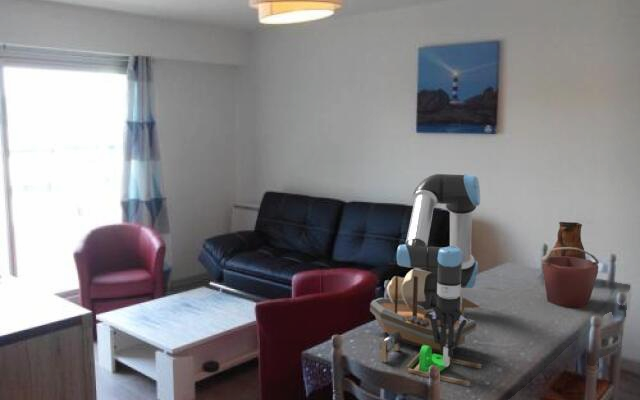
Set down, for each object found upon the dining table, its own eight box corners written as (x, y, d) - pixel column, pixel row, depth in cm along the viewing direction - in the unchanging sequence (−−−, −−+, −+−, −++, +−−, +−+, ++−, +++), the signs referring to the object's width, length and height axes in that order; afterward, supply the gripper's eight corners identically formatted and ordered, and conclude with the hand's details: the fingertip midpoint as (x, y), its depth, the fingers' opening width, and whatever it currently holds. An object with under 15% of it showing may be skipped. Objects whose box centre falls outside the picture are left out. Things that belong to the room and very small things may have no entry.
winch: (378, 361, 196) (378, 341, 195) (392, 348, 207) (392, 329, 206) (388, 363, 194) (389, 343, 193) (402, 350, 205) (402, 331, 204)
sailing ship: (386, 322, 233) (388, 257, 229) (489, 354, 202) (493, 279, 199) (361, 333, 221) (362, 265, 218) (466, 368, 191) (469, 289, 187)
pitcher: (589, 280, 295) (593, 223, 291) (573, 288, 280) (577, 228, 276) (557, 274, 307) (561, 218, 303) (539, 282, 292) (543, 224, 288)
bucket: (538, 306, 255) (541, 250, 251) (536, 292, 275) (539, 240, 272) (599, 312, 247) (603, 255, 243) (593, 297, 267) (596, 244, 264)
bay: (404, 371, 188) (404, 367, 188) (420, 355, 201) (420, 351, 201) (468, 386, 178) (469, 381, 178) (481, 367, 191) (481, 363, 191)
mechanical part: (436, 376, 184) (437, 352, 183) (418, 371, 188) (419, 348, 187) (450, 363, 194) (450, 340, 193) (433, 358, 198) (434, 336, 196)
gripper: (425, 295, 185) (423, 365, 189) (465, 301, 179) (462, 373, 182) (432, 289, 192) (430, 357, 195) (471, 295, 186) (468, 364, 189)
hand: (446, 365), depth 189 cm, fingers closed
